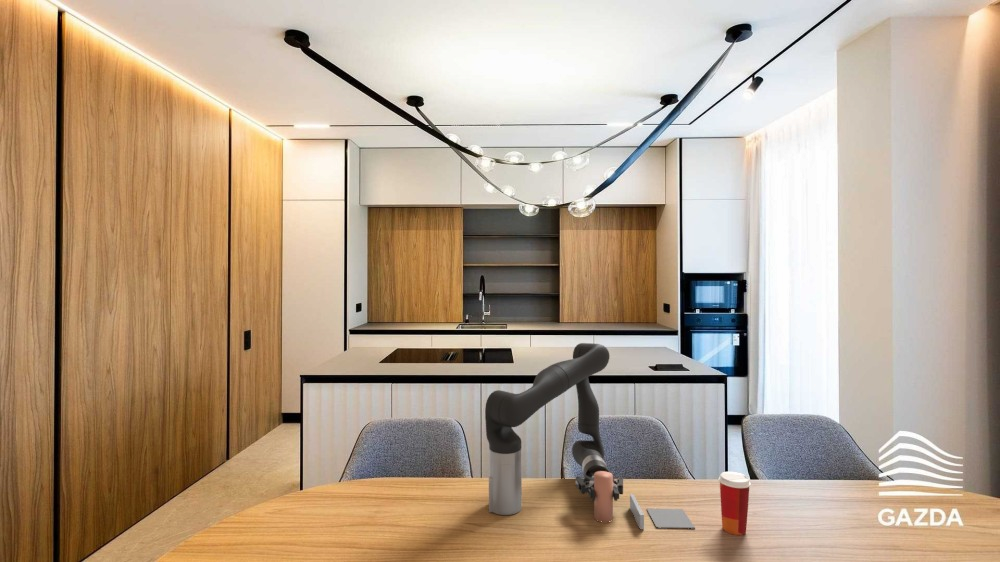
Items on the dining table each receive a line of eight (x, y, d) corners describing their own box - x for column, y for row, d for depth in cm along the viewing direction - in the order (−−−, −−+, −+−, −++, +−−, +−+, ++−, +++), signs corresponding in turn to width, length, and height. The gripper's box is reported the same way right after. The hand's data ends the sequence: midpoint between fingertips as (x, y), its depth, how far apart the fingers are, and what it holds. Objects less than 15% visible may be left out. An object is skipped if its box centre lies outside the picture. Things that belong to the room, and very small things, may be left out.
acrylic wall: (640, 530, 131) (640, 514, 130) (629, 508, 143) (629, 494, 142) (643, 530, 130) (643, 515, 130) (633, 508, 142) (633, 494, 142)
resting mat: (656, 528, 131) (656, 526, 131) (646, 509, 141) (646, 508, 141) (695, 528, 131) (695, 527, 131) (682, 510, 141) (682, 509, 141)
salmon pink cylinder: (595, 522, 134) (595, 478, 134) (592, 513, 139) (592, 471, 139) (614, 522, 134) (614, 478, 134) (611, 513, 139) (611, 471, 139)
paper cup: (743, 522, 134) (744, 471, 134) (755, 538, 126) (755, 483, 126) (713, 521, 135) (713, 470, 134) (723, 536, 127) (723, 482, 127)
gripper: (571, 458, 151) (578, 483, 134) (619, 459, 151) (632, 483, 134) (571, 483, 151) (578, 510, 134) (619, 484, 151) (632, 511, 134)
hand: (605, 497), depth 134 cm, fingers open, 5 cm apart
